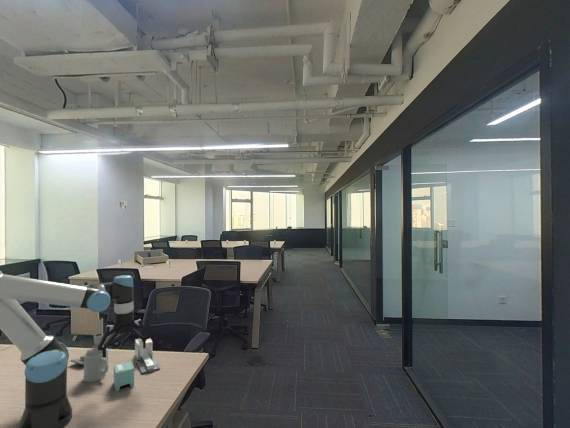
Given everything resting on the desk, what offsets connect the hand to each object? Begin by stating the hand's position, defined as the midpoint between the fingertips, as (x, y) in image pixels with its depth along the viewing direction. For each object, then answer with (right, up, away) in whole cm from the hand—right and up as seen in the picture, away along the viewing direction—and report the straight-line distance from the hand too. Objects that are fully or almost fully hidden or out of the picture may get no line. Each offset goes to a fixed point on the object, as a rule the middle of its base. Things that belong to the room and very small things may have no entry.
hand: (124, 360), depth 135 cm
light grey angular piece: (+1, -11, +20) cm, 22 cm away
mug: (-15, -11, +5) cm, 19 cm away
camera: (-29, -11, +22) cm, 38 cm away
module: (0, -11, 0) cm, 11 cm away
